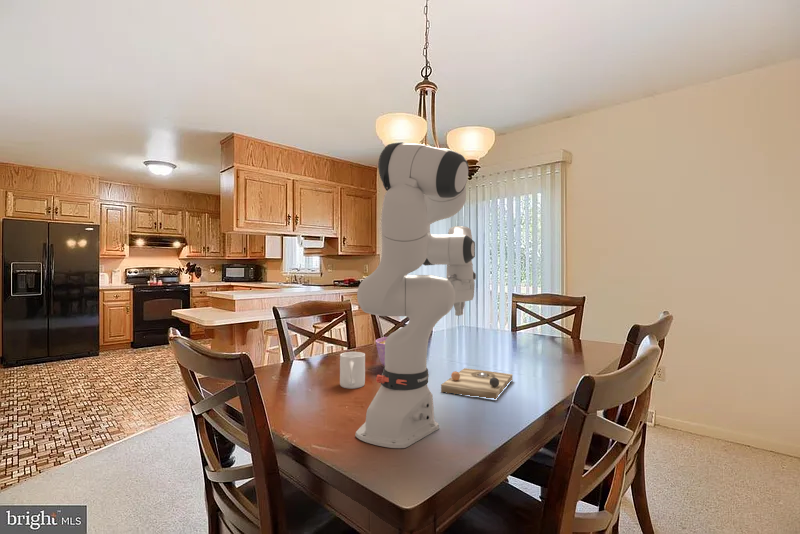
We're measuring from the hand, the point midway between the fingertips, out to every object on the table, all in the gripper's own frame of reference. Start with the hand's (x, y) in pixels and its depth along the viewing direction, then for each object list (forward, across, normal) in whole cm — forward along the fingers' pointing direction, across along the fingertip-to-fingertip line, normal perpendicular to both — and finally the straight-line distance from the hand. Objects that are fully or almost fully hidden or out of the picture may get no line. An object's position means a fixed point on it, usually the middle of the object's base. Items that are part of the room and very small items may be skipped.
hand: (459, 315), depth 135 cm
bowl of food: (+25, +12, +29) cm, 40 cm away
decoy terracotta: (+21, 0, +1) cm, 21 cm away
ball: (+23, +11, -5) cm, 26 cm away
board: (+25, +5, -5) cm, 26 cm away
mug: (+25, -17, +32) cm, 44 cm away
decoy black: (+21, -1, -12) cm, 24 cm away
